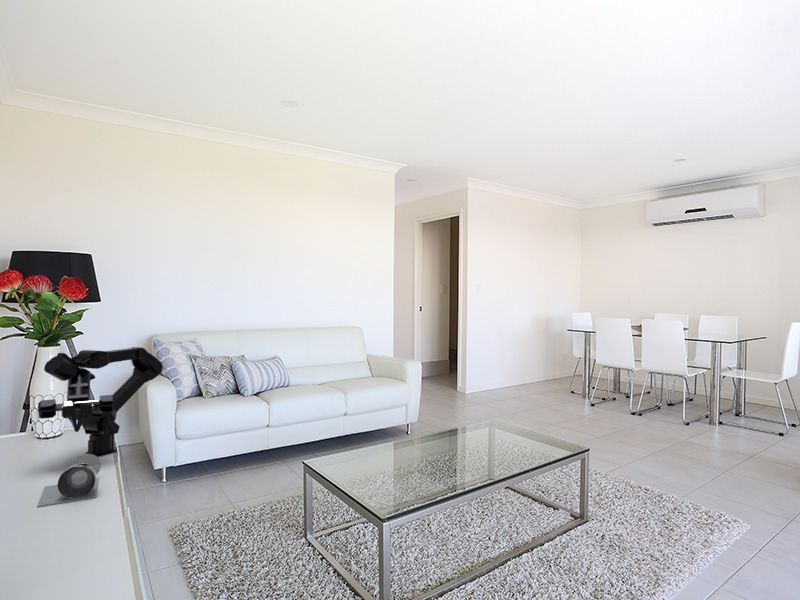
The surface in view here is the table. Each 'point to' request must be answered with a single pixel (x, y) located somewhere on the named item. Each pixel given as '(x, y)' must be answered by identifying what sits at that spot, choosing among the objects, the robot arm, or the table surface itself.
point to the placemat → (54, 496)
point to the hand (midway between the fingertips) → (76, 431)
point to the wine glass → (79, 477)
